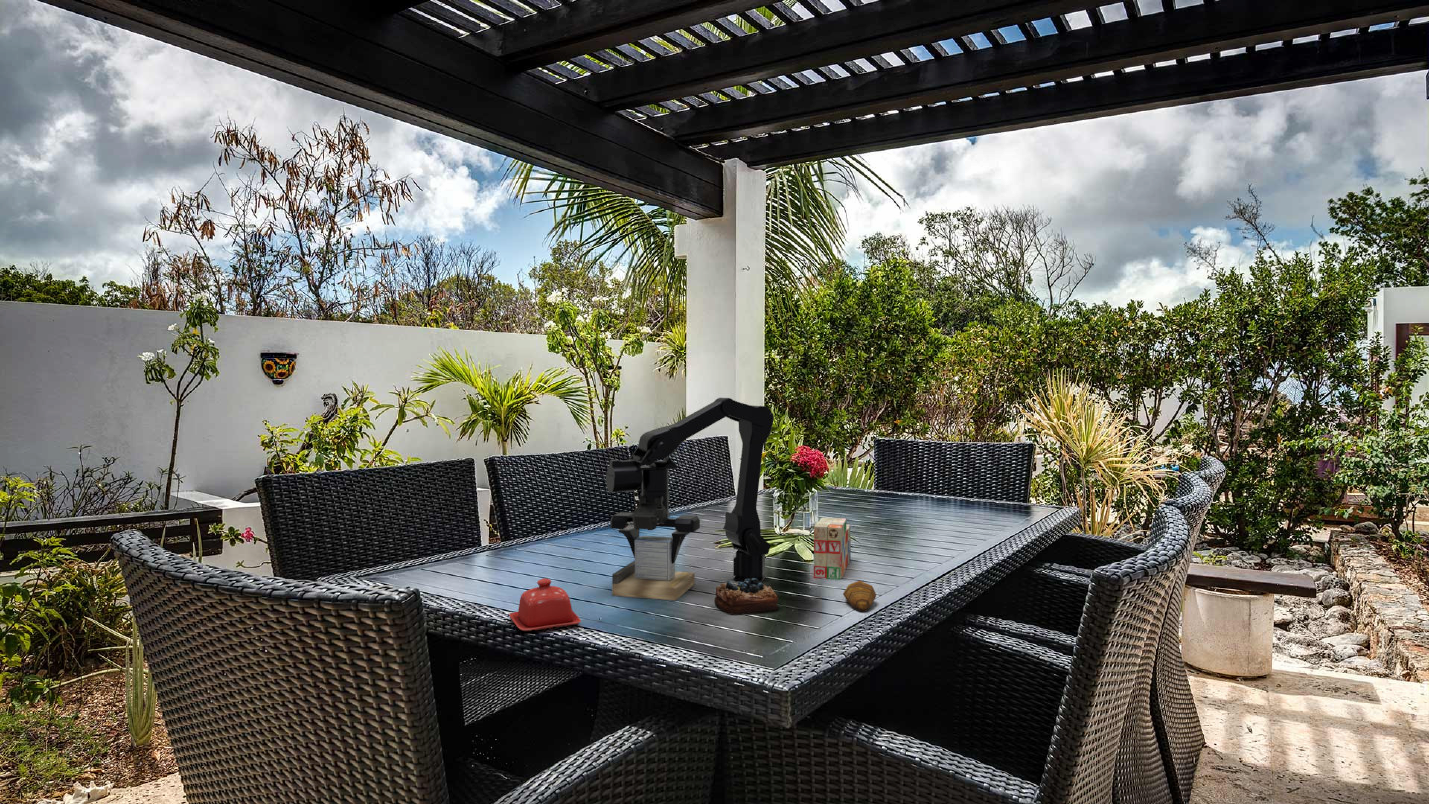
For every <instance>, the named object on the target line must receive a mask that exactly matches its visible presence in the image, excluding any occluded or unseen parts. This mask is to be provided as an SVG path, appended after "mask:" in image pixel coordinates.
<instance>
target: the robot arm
mask: <svg viewBox="0 0 1429 804" xmlns="http://www.w3.org/2000/svg"><path fill="white" fill-rule="evenodd" d="M724 418H727V419H730V420H731V421H733V422H737V423H738V433H739V435H740V439H741V442H742V443H741V444H742V445H741V446H742V447H741V454H740V456H741V457H740V464H739V465H740V466H739V473H738V480H737V481H738V483H737V491H736V500H735V505H734V507H733V509H732V511H731V512H729V511H726V512H725V515H724V519H725V522H724V526H723V527H722V529H723V530H724V531H725V536H726V538H727V539H728V541H729V542H731V546H732V548H733V550H736V551H735V557H734V558H733V559H732V561H733V563H732V564H733V569H732V570H733V572H732V573H733V576H734V577H733V581H740V582H744V580H745V579H752V578H756V579H757V580H758V582H762V583H763V581H764V580H765V579H766V577H767V576H768V575H767V573H766V555H768V554H769V552H770V550H771V544H770V543H769V542H768V541H767V540H766V539H765V538H764V537H763V536H762V535H761V521H760V516H759V513H758V510H757V508H758V507H757V505H758V504H757V503H758V496H759V489H760V488H759V486H760V478H761V468H762V461H763V453H764V446H765V444H766V442H767V440H768V439H769V438H770V436H771V432H772V429H773V425H774V419H775V418H774V413H773V412H772V411H771V409H770V408H768V407H767V406H764V405H750V404H747V403H743V402H739V401H737V400H735V399H732V398H730V397H717V399H715V400H714V401H712V402H711V403H709V404H707V405H705V406H703V407H702V408H700V409H699V410H696V411H694V412H692V413H691V414H689V415H687V416H685V417H684V418H682V419H680V420H678V421H676V422H675V423H672V424H670V425H666V426H661V427H658V428H655V429H652V430H648V431H646V432H644V433H643V434H642V435H641V436H640V437H639V440H638V446H637V447H636V449H635V450H634V451H633V453H632V454H631V455H630V458H628V460H627V459H625V460H617V459H610V460H609V466H608V467H607V470H606V474H605V483H606V489H607V491H608V493H623V492H625V493H628V492H636V491H638V489H639V488H641V495H640V496H639V503H638V506H636V508H635V510H634V511H633V512H626V511H625V512H623V511H622V512H621V511H620V512H617V513H616V514H613V515H612V516H611V517H610V523H609V525H610V529H613V530H617V531H618V533H619V534H623V536H624V537H625V538H626V539H627V542H628V544H629V546H630V547H629V548H630V550H631V552H632V555H633V558H634V559H635V540H636V539H637V538H639V537H640V530H647V531H654V530H655V529H657V528H658V527H660V528H674V529H675V531H672V533H671V537H672V538H673V543H672V556H671V558H672V563H675V564H676V560H677V558H678V556H679V553H680V552H679V551H680V549H681V547H682V545H683V542H684V541H685V538H686V536H688V535H690V534H691V533H695V532H696V531H698V530H699V529H700V528H701V520H700V518H699V516H698V515H692V514H691V515H689V514H682V515H680V516H677V517H676V518H671V517H670V516H671V514H670V511H669V499H670V498H671V497H670V493H669V470H672V469H673V470H674V469H675V470H676V469H678V467H679V465H677V464H676V463H675V462H674V461H673V460H672V458H671V457H669V456H671V454H673V453H674V452H675V451H676V450H678V449H679V447H680V446H681V444H682V443H683V442H684V441H686V440H687V439H689V438H691V437H693V436H694V435H696V434H698V433H700V432H701V431H704V430H705V429H707V428H708V427H710V426H712V425H713V424H716V423H717V422H718V421H719V422H720V421H721V420H722V419H724ZM658 460H659V461H658Z"/></svg>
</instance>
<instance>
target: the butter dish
mask: <svg viewBox="0 0 1429 804" xmlns="http://www.w3.org/2000/svg"><path fill="white" fill-rule="evenodd" d="M536 583H537V585H538V586H537V587H534V588H530V589H528V590H526V591H524V592H522V593H521V595H520V598H519V604H518V609H517V611H515V612H511V613H509V614H508V615H509V617H510V619H511V620H512V622H513V623H514V625H516V627H517V628H518V629H519V630H520V631H523V632H533V631H532V630H535V631H541V630H540V629H542V630H548V629H547V628H550V629H554V628H553V627H558V628H562V627H561V626H565V627H569V626H572V625H578V624H580V623H581V622H582V620H581V618H580V617H579V615H577V614H576V613H575V611H573V607H572V603H571V598H570V597H569V595H568V592H567V591H566V590H565V589H563V588H562V587H559V586H555V585H551V584H552V580H551V579H550V578H541V579H539V580H537V582H536Z"/></svg>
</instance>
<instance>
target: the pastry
mask: <svg viewBox="0 0 1429 804" xmlns="http://www.w3.org/2000/svg"><path fill="white" fill-rule="evenodd" d="M714 595H715V598H714V604H715V605H716V607H717V608H718V609H720V610H722V611H723V612H724V613H726V614H729V615H731V616H734V615H735V616H738V615H749V614H759V613H760V614H762V613H769V612H774V611H777V610H778V603H779V597H778V595H777V593H776V592H775V591H774V589H772V587H771V586H767V585H765V584H764V583H763V581H762V582H758V580H757V579H756V578H752V579H745V580H744V581H740V582H738V583H735V582H733V583H732V582H731V580H729V581H726V582H724V583H723V582H722V583H720V585H718V586H716V588H715V594H714Z"/></svg>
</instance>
